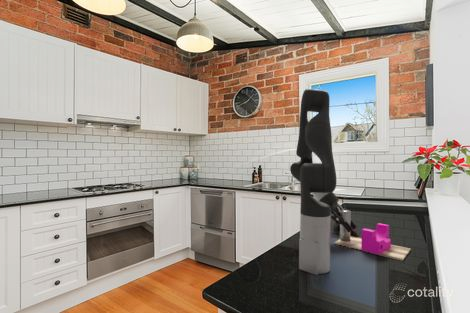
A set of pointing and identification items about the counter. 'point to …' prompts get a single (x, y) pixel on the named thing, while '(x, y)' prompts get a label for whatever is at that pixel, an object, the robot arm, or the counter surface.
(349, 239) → the beige piece
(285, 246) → the counter surface
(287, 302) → the counter surface
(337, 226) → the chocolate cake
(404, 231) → the counter surface
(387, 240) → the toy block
